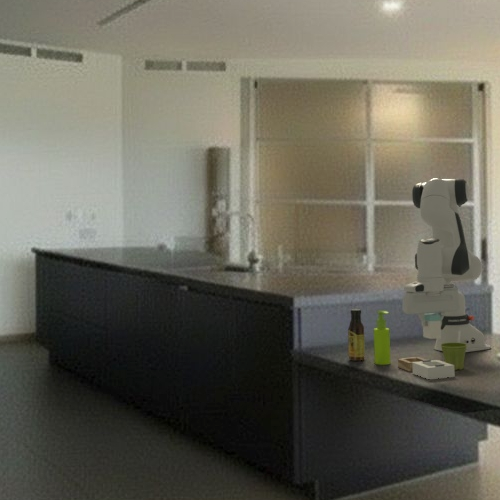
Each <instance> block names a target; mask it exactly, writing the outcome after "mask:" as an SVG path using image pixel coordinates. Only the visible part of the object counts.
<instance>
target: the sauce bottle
mask: <svg viewBox="0 0 500 500" xmlns="http://www.w3.org/2000/svg"><path fill="white" fill-rule="evenodd" d="M361 315H362V309H360V308H352V309H350V323H349V325H348V329H347V333H348V334H347V337H348V338H347V341H348V342H347V343H348V344H347V345H348V359H349V361H353V362H360V361H361V360H362V361H364V360H365V356H366V352H365V351H366V350H365V326H364V324H363V323H362V318H361V317H362V316H361Z"/></svg>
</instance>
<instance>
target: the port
mask: <svg viewBox="0 0 500 500" xmlns="http://www.w3.org/2000/svg"><path fill="white" fill-rule="evenodd" d="M412 367H413V371H412V375H416V376H417V375H418V377H420V376H421V378H423V379H425V378H426V380H428V379H430V380H437V379H438V378H439V379H446V378H447V377H449V378H455V376H456V375H455V371H456V370H454V365H452V364H449V363H446V362H445V361H444V360H443V361H442V360H440V359H433V360H431V359H426V360H422V361H421V362H412ZM447 379H448V378H447Z"/></svg>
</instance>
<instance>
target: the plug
mask: <svg viewBox="0 0 500 500" xmlns="http://www.w3.org/2000/svg"><path fill="white" fill-rule="evenodd" d="M423 317H424V319H425V321H428V323H427V324H428V326H422V335H423V338H426V339H429V340H433V339H435V340H437V338H441V320H440V315H439V314H438V313H435V312H434V313H425V316H423Z"/></svg>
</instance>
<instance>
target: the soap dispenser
mask: <svg viewBox="0 0 500 500" xmlns="http://www.w3.org/2000/svg"><path fill="white" fill-rule="evenodd" d="M376 313H378V318H377V319H376V328H373V349H374V352H373V353H374V356H373V357H374V364H375V365H379V366H385V365H390V364H391V337H390V328H388V327H387V322H386V321H387V320H386V318H384V315H389V314H390V312H389V311H388V310H377V311H376Z"/></svg>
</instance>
